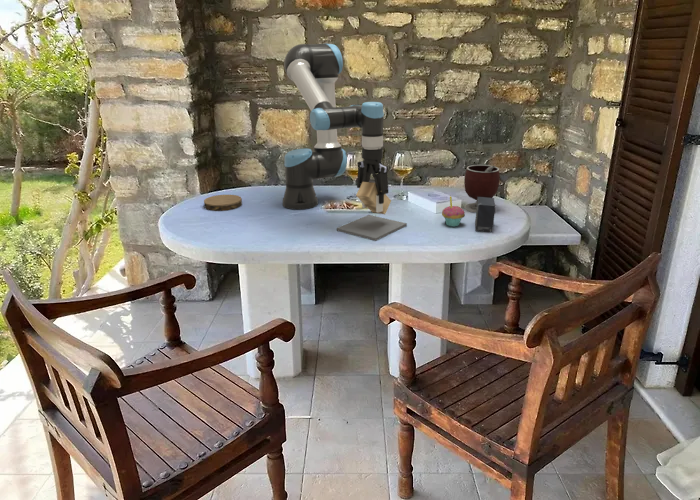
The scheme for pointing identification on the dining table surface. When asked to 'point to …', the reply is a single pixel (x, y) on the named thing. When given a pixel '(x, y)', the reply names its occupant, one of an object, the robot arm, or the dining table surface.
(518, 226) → the dining table surface
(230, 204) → the wood slice
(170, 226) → the dining table surface
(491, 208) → the small box
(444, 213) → the cupcake
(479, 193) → the mate gourd
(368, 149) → the robot arm
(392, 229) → the mat
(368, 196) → the oak block
